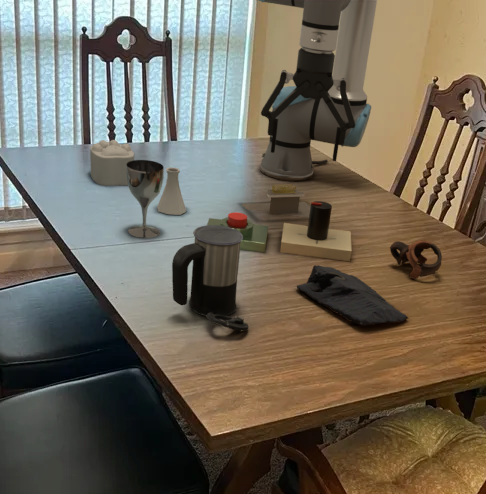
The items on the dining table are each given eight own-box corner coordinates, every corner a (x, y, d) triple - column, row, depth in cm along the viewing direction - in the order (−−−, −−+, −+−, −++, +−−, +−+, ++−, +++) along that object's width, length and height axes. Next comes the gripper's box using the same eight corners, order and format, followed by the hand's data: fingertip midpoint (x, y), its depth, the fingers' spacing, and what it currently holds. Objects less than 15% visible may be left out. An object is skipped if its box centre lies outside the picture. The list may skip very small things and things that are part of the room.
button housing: (267, 234, 182) (269, 218, 179) (264, 252, 173) (266, 235, 170) (208, 226, 181) (209, 210, 179) (202, 244, 172) (203, 227, 170)
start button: (247, 222, 177) (248, 213, 176) (245, 229, 173) (246, 220, 172) (228, 219, 177) (229, 211, 175) (226, 226, 173) (227, 218, 172)
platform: (241, 203, 196) (243, 178, 193) (304, 201, 203) (307, 177, 200) (258, 221, 188) (260, 195, 184) (323, 218, 195) (327, 193, 191)
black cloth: (353, 336, 145) (357, 314, 143) (290, 287, 160) (293, 266, 157) (413, 322, 153) (418, 301, 150) (349, 277, 167) (352, 256, 165)
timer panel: (348, 241, 184) (350, 230, 183) (349, 261, 174) (351, 250, 173) (282, 232, 184) (284, 222, 182) (280, 252, 174) (281, 241, 172)
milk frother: (207, 291, 154) (212, 220, 145) (274, 317, 148) (283, 244, 140) (163, 315, 143) (165, 240, 135) (233, 344, 137) (239, 268, 129)
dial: (327, 233, 180) (332, 201, 175) (327, 241, 176) (332, 208, 171) (306, 231, 180) (311, 198, 175) (306, 238, 176) (310, 205, 171)
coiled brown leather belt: (435, 267, 179) (450, 246, 171) (424, 297, 174) (439, 277, 167) (388, 245, 178) (401, 223, 171) (376, 275, 174) (389, 253, 166)
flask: (189, 207, 190) (191, 167, 184) (183, 217, 184) (184, 176, 178) (160, 203, 190) (161, 162, 184) (153, 213, 184) (154, 171, 178)
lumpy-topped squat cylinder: (97, 186, 194) (96, 151, 189) (86, 169, 204) (84, 135, 199) (137, 185, 199) (138, 151, 194) (124, 168, 208) (124, 135, 203)
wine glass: (168, 231, 176) (170, 166, 168) (149, 241, 170) (150, 174, 161) (139, 222, 178) (140, 157, 170) (119, 232, 172) (118, 165, 164)
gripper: (254, 44, 153) (245, 152, 165) (378, 61, 154) (360, 167, 166) (257, 38, 159) (248, 142, 171) (376, 55, 160) (359, 157, 172)
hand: (303, 155), depth 168 cm, fingers open, 13 cm apart
